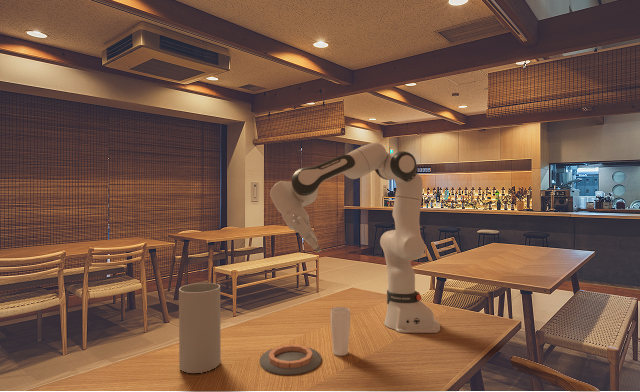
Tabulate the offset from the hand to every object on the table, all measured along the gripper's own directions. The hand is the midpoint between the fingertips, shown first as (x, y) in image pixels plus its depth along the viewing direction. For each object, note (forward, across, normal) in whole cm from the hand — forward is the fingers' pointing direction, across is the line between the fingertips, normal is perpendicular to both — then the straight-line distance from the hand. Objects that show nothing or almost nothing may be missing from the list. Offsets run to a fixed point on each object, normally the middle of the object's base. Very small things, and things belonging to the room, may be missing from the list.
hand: (317, 249), depth 135 cm
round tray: (+26, -4, +27) cm, 38 cm away
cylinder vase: (+12, -12, +51) cm, 54 cm away
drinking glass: (+34, +3, +13) cm, 36 cm away
